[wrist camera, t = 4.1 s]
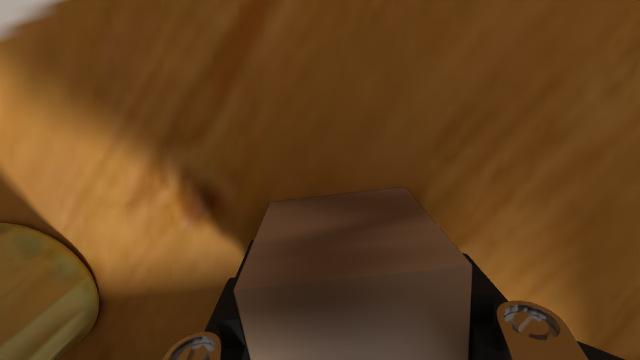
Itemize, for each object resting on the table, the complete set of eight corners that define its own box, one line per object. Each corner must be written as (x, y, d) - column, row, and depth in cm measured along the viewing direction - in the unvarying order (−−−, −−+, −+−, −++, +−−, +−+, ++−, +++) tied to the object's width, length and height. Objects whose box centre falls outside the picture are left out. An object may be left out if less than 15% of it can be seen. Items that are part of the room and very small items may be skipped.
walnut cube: (404, 186, 11) (472, 265, 6) (408, 298, 12) (464, 432, 8) (270, 201, 11) (233, 290, 6) (289, 310, 13) (272, 449, 8)
